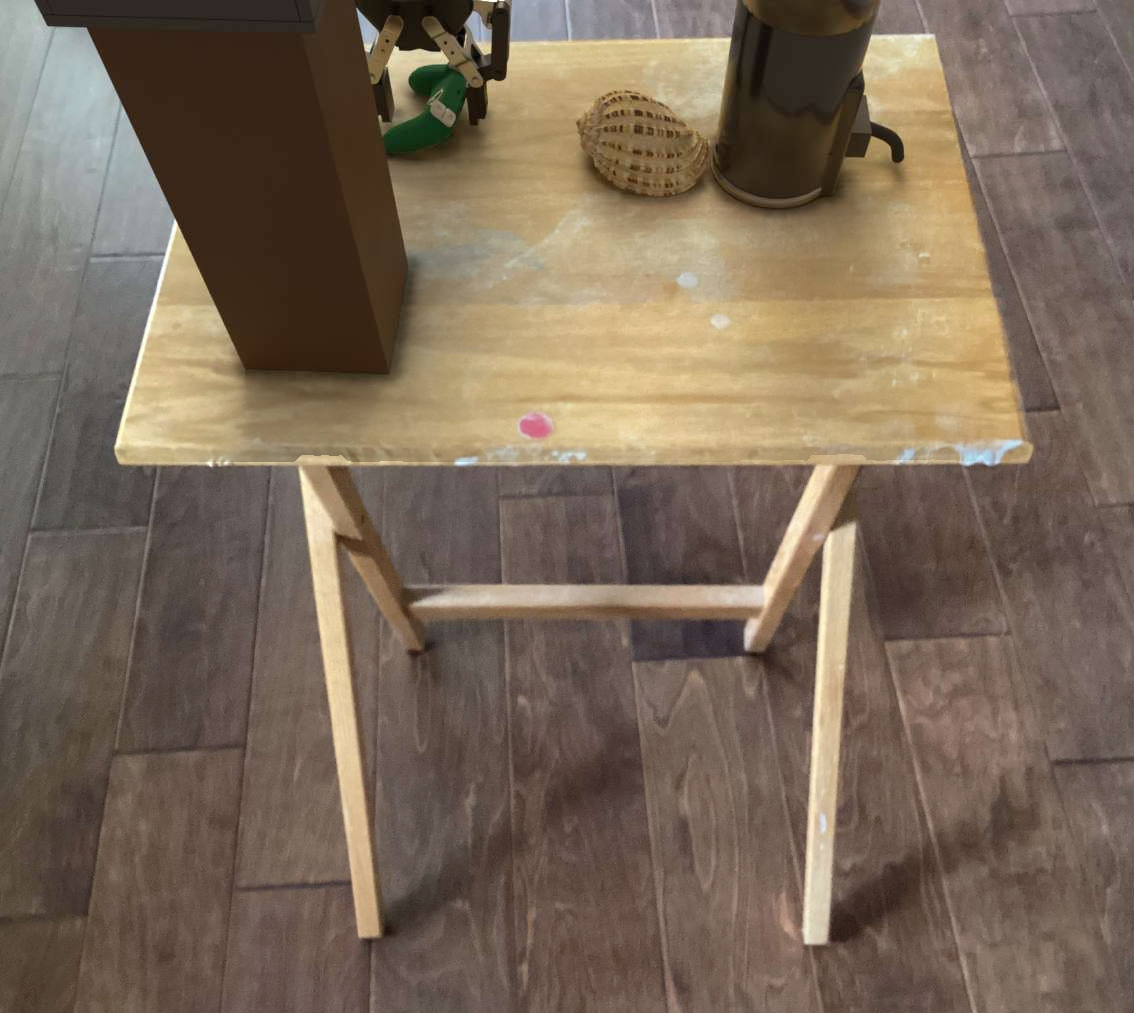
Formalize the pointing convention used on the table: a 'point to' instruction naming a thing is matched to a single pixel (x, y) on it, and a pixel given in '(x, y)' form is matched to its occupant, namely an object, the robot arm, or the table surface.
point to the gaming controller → (430, 109)
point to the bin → (265, 166)
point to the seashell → (642, 144)
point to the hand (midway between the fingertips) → (432, 117)
